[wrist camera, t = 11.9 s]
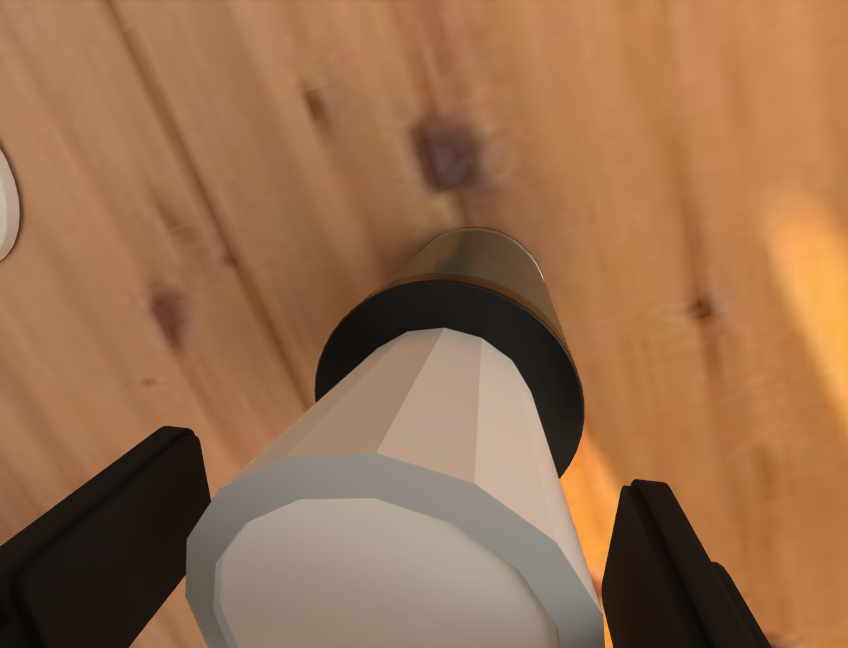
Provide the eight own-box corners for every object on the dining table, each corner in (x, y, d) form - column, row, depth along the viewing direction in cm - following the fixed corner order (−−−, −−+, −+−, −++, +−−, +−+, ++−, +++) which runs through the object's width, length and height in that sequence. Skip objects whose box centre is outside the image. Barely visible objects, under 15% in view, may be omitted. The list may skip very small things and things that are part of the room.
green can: (381, 308, 28) (269, 425, 14) (458, 196, 24) (404, 215, 11) (486, 384, 28) (470, 564, 15) (575, 283, 25) (653, 398, 12)
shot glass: (330, 298, 13) (139, 427, 6) (571, 316, 11) (658, 498, 5) (339, 488, 15) (208, 731, 8) (542, 518, 14) (575, 827, 7)
